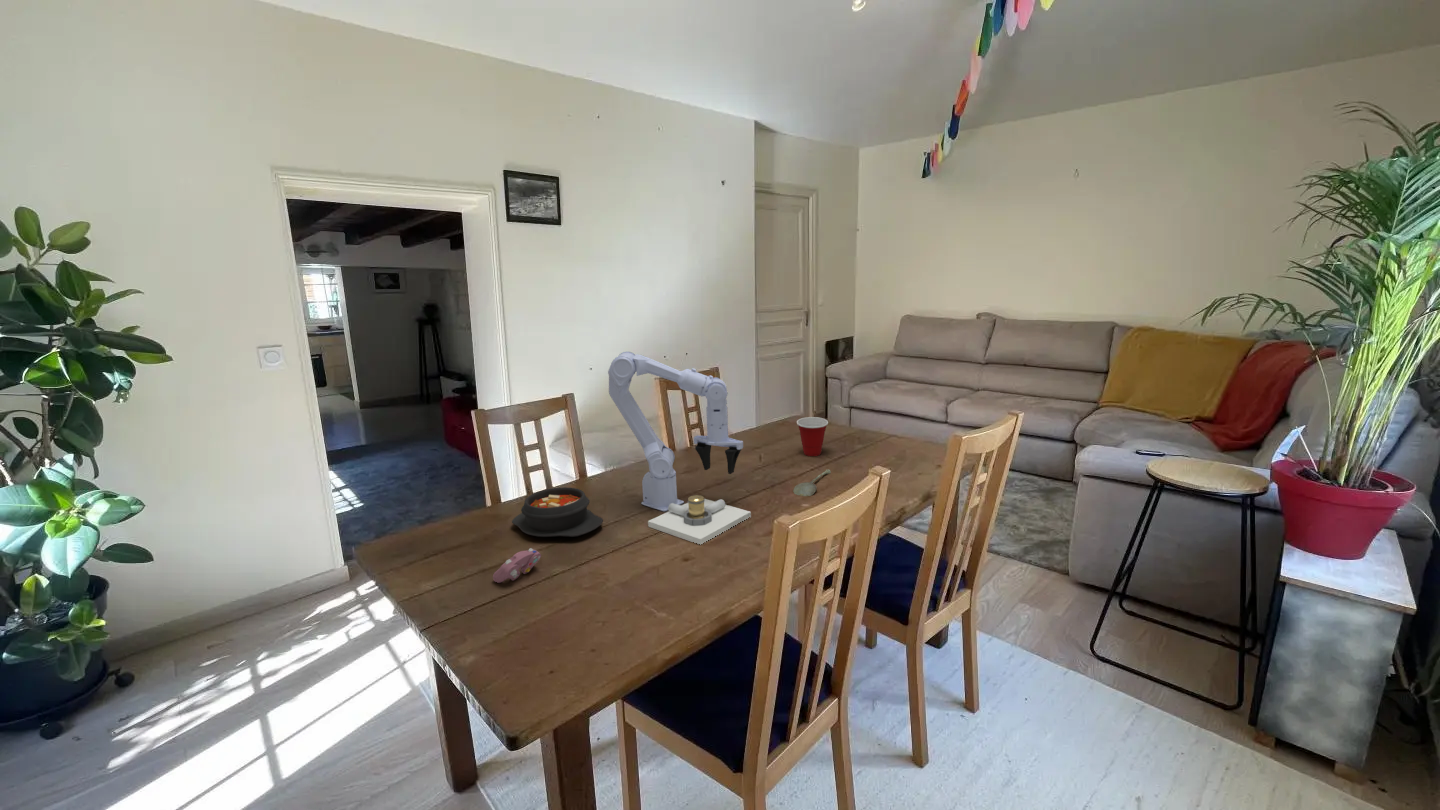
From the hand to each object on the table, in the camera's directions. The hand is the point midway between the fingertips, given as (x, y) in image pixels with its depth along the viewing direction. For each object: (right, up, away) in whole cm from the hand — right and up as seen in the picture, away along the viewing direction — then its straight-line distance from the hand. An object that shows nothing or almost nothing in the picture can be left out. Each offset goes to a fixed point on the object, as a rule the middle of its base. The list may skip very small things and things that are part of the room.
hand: (719, 470), depth 164 cm
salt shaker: (-6, -11, -13) cm, 18 cm away
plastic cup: (+33, +1, +43) cm, 54 cm away
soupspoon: (+29, -6, +15) cm, 33 cm away
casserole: (-42, -14, -10) cm, 45 cm away
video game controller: (-44, -19, -35) cm, 59 cm away
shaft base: (-5, -12, -10) cm, 17 cm away
